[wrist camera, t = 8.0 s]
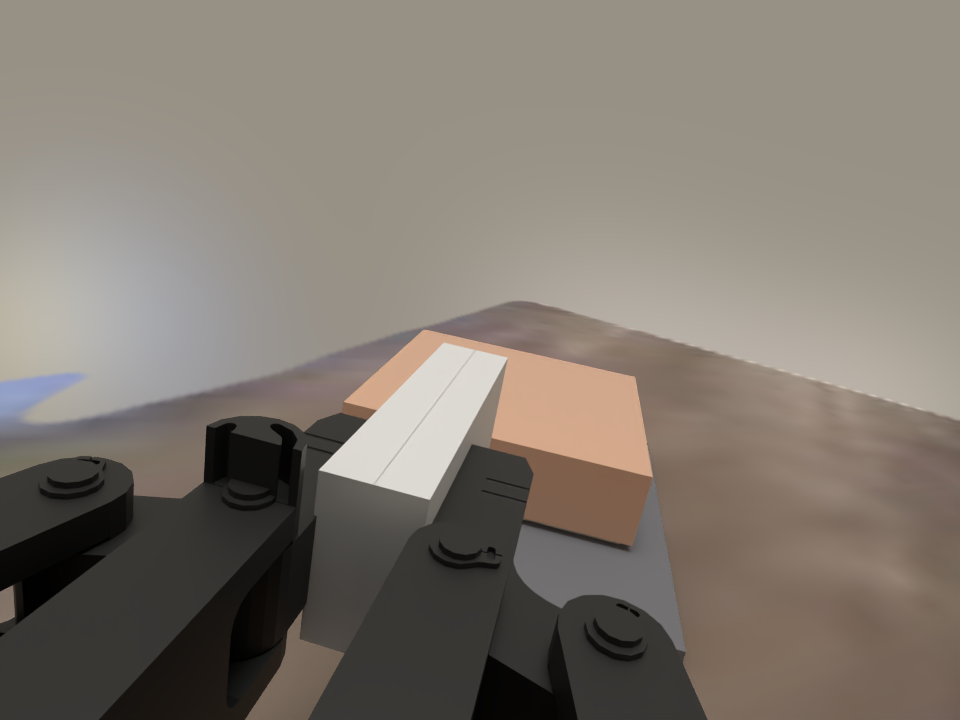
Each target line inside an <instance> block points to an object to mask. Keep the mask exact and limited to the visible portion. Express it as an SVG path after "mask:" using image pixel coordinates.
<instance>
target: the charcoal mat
mask: <svg viewBox="0 0 960 720" xmlns="http://www.w3.org/2000/svg"><path fill="white" fill-rule="evenodd" d="M647 447H648V443H647ZM648 453H649V447H648ZM649 458H650V453H649ZM650 464H651V458H650ZM651 470H652V475H653V469H652V464H651ZM514 565H515V568H516V571H517V573H518V575H519V576H520V578H521V579H522V580H523V582H524V583H525V584H526V585H527V586H528V587H529V588H530V589H531V590H532V591H534V592H535V593H536V594H538V595H539V596H541V597H542V598H544V599H545V600H547V601H549V602H550V603H552V604H554V605H556V606H558V607H560V608H563V606H564V605H565V604H566V603H567V601H569V600H572V599H574V598H577V597H579V596H582V595H606V596H610V597H614V598H618V599H621V600H625V601H627V602H629V603H630V604H632V605H634V606H636V607H638V608H640V609H642V610H644V611H645V612H647V613H648V614H649V615H650V616H651V617H653V618H654V619H655V620H656V621H657V622H659V623H660V624H661V625H662V626H663V628H664V629H665V631H666V632H667V634H668V635H669V637H670V638H671V640H672V641H673V643H674V645H675V648H676V650H677V652H678V654H679V657H680V659H681V661H683V658H684V656H685V653H686V651H685V645H684V640H683V634H682V629H681V623H680V618H679V612H678V607H677V601H676V596H675V590H674V585H673V579H672V574H671V568H670V563H669V557H668V552H667V546H666V541H665V535H664V530H663V524H662V519H661V513H660V508H659V502H658V497H657V491H656V486H655V480H654V475H653V479H652V482H651V485H650V489H649V492H648V495H647V499H646V502H645V505H644V509H643V512H642V515H641V519H640V522H639V525H638V529H637V532H636V535H635V539H634V542H633V545H632V546H629V545H625V544H621V543H620V544H616V543H612V542H608V541H604V540H600V539H596V538H592V537H589V536H585V535H581V534H577V533H573V532H569V531H565V530H561V529H558V528H554V527H550V526H546V525H542V524H538V523H534V522H530V521H526V520H523V522H522V526H521V530H520V534H519V539H518V543H517V547H516V551H515V555H514Z"/></svg>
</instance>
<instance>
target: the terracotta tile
mask: <svg viewBox="0 0 960 720" xmlns="http://www.w3.org/2000/svg"><path fill="white" fill-rule="evenodd" d="M443 343H448V344H452V345H456V346H461V347H465V348H469V349H473V350H478V351H482V352H486V353H491V354H495V355H499V356H503V357H508V360H507V365H506V370H505V375H504V379H503V384H502V389H501V394H500V399H499V404H498V408H497V413H496V418H495V423H494V428H493V433H492V438H491V442H490V447H489V449H493V450H497V451H501V452H505V453H509V454H513V455H516V456H520V457H524V458H526V460H527V462H528V463H529V465H530V467H531V469H532V471H533V473H534V475H533V479H532V483H531V488H530V492H529V496H528V500H527V505H526V509H525V513H524V517H523V520H526V521H530V522H534V523H538V524H542V525H546V526H550V527H554V528H558V529H561V530H565V531H569V532H573V533H577V534H581V535H585V536H589V537H592V538H596V539H600V540H604V541H608V542H612V543H616V544H620V543H621V544H625V545H629V546H632V545H633V542H634V539H635V535H636V532H637V529H638V525H639V522H640V519H641V515H642V512H643V509H644V505H645V502H646V499H647V495H648V492H649V489H650V485H651V482H652V479H653V475H652V470H651V464H650V458H649V453H648V447H647V442H646V436H645V430H644V425H643V419H642V413H641V408H640V402H639V397H638V391H637V385H636V380H635V377H632V376H628V375H623V374H619V373H615V372H610V371H606V370H601V369H597V368H593V367H588V366H584V365H579V364H575V363H570V362H566V361H562V360H557V359H553V358H548V357H544V356H539V355H535V354H531V353H526V352H522V351H517V350H513V349H508V348H504V347H500V346H495V345H491V344H486V343H482V342H477V341H473V340H469V339H464V338H460V337H455V336H451V335H446V334H442V333H438V332H433V331H429V330H423V331H422V332H421V333H420V334H419V335H417V336H416V337H415V338H414V339H413V340H412V341H411V342H410V343H409V344H407V345H406V346H405V347H404V348H403V349H402V350H401V351H400V352H399V353H397V354H396V355H395V356H394V357H393V358H392V359H391V360H390V361H389V362H387V363H386V364H385V365H384V366H383V367H382V368H381V369H380V370H379V371H377V372H376V373H375V374H374V375H373V376H372V377H371V378H370V379H369V380H367V381H366V382H365V383H364V384H363V385H362V386H361V387H360V388H359V389H357V390H356V391H355V392H354V393H353V394H352V395H351V396H350V397H349V398H347V399H346V400H345V401H344V403H343V411H342V413H343V414H347V415H351V416H355V417H359V418H363V419H367V420H368V419H369V418H370V417H371V416H372V415H373V414H374V413H375V412H376V411H377V410H378V409H379V408H380V407H381V406H382V405H383V404H384V403H385V402H386V401H387V400H388V399H389V398H390V397H391V396H392V395H393V394H394V393H395V392H396V391H397V390H398V389H399V388H400V387H401V386H402V385H403V384H404V383H405V382H406V381H407V380H408V379H409V378H410V377H411V375H412V374H413V373H414V372H415V371H416V370H417V369H418V368H419V367H420V366H421V365H422V364H423V363H424V362H425V361H426V360H427V359H428V358H429V357H430V356H431V355H432V354H433V353H434V352H435V351H436V350H437V349H438V348H439V347H440V346H441V345H442V344H443Z"/></svg>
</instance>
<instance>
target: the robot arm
mask: <svg viewBox="0 0 960 720" xmlns="http://www.w3.org/2000/svg"><path fill="white" fill-rule="evenodd" d="M507 360H508V357H503V356H499V355H495V354H491V353H486V352H482V351H478V350H473V349H469V348H465V347H461V346H456V345H452V344H448V343H443V344H442V345H441V346H440V347H439V348H438V349H437V350H436V351H435V352H434V353H433V354H432V355H431V356H430V357H429V358H428V359H427V360H426V361H425V362H424V363H423V364H422V365H421V366H420V367H419V368H418V369H417V370H416V371H415V372H414V373H413V374H412V375H411V377H410V378H409V379H408V380H407V381H406V382H405V383H404V384H403V385H402V386H401V387H400V388H399V389H398V390H397V391H396V392H395V393H394V394H393V395H392V396H391V397H390V398H389V399H388V400H387V401H386V402H385V403H384V404H383V405H382V406H381V407H380V408H379V409H378V410H377V411H376V412H375V413H374V414H373V415H372V416H371V417H370V418H369V419H368V420H367V419H363V418H359V417H355V416H351V415H347V414H343V413H338V414H335V415H332V416H329V417H326V418H323V419H321V420H318V421H317V422H315V423H314V424H313V425H312V426H311V427H310V428H308V429H307V430H306V431H305V432H303V431H301V430H300V429H299V428H298V427H296V426H295V425H293V424H290V423H288V422H285V421H282V420H280V419H274V418H268V417H262V416H239V417H233V418H227V419H221V420H219V421H217V422H214V423H212V424H210V425H207V427H206V447H205V467H204V482H203V483H202V484H200V485H199V486H198V487H196V488H195V489H194V490H192V491H191V492H190V493H189V494H187V495H186V496H185V497H183V498H182V499H176V498H161V497H147V496H133V491H134V481H133V475H132V471H131V470H129V469H128V468H127V467H126V466H124V465H123V464H122V463H118V462H115V461H112V460H109V459H105V458H99V457H94V458H92V456H79V457H76V458H66V459H59V460H55V461H51V462H47V463H43V464H39V465H36V466H33V467H31V468H28V469H25V470H22V471H19V472H16V473H13V474H11V475H8V476H5V477H2V478H0V591H2V590H4V589H6V588H8V587H10V586H12V585H13V589H14V606H15V617H14V618H12V619H10V620H9V621H6V622H3V623H0V720H245V718H246V717H247V715H248V714H249V712H250V711H251V709H252V708H253V706H254V705H255V703H256V702H257V700H258V699H259V697H260V696H261V694H262V693H263V691H264V690H265V688H266V687H267V685H268V684H269V682H270V681H271V679H272V678H273V676H274V675H275V673H276V672H277V670H278V669H279V667H280V665H281V662H282V660H283V657H284V654H285V649H286V639H287V630H288V629H289V628H290V626H291V625H292V623H293V622H294V620H295V619H296V618H297V616H298V615H299V613H300V612H301V611H302V609H303V613H302V622H301V630H300V639H301V640H305V641H308V642H311V643H314V644H318V645H321V646H324V647H328V648H331V649H334V650H337V651H341V652H344V653H345V654H344V656H343V658H342V659H341V661H340V663H339V665H338V667H337V668H336V670H335V672H334V674H333V676H332V677H331V679H330V681H329V683H328V685H327V686H326V688H325V690H324V692H323V694H322V696H321V697H320V699H319V701H318V703H317V705H316V706H315V708H314V710H313V712H312V714H311V715H310V717H309V719H308V720H707V718H706V715H705V713H704V711H703V708H702V706H701V704H700V702H699V699H698V697H697V695H696V693H695V690H694V688H693V686H692V684H691V681H690V679H689V677H688V675H687V672H686V670H685V668H684V666H683V663H682V661H681V659H680V657H679V654H678V652H677V650H676V648H675V645H674V643H673V641H672V640H671V638H670V637H669V635H668V634H667V632H666V631H665V629H664V628H663V626H662V625H661V624H660V623H659V622H657V621H656V620H655V619H654V618H653V617H651V616H650V615H649V614H648V613H647V612H645V611H644V610H642V609H640V608H638V607H636V606H634V605H632V604H630V603H629V602H627V601H625V600H621V599H618V598H614V597H610V596H606V595H582V596H579V597H577V598H574V599H572V600H569V601H567V603H566V604H565V605H564V606H563V608H560V607H558V606H556V605H554V604H552V603H550V602H549V601H547V600H545V599H544V598H542V597H541V596H539V595H538V594H536V593H535V592H534V591H532V590H531V589H530V588H529V587H528V586H527V585H526V584H525V583H524V582H523V580H522V579H521V578H520V576H519V575H518V573H517V571H516V568H515V565H514V555H515V551H516V547H517V543H518V539H519V534H520V530H521V526H522V522H523V517H524V513H525V509H526V505H527V500H528V496H529V492H530V488H531V483H532V479H533V475H534V473H533V471H532V469H531V467H530V465H529V463H528V462H527V460H526V458H524V457H520V456H516V455H513V454H509V453H505V452H501V451H497V450H493V449H489V447H490V442H491V438H492V433H493V428H494V423H495V418H496V413H497V408H498V404H499V399H500V394H501V389H502V384H503V379H504V375H505V370H506V365H507Z"/></svg>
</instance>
